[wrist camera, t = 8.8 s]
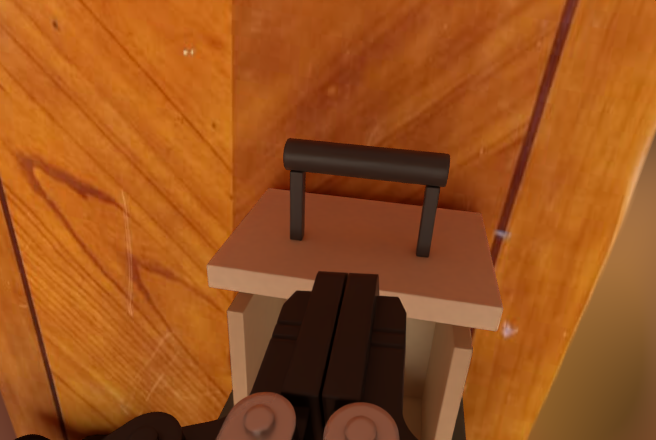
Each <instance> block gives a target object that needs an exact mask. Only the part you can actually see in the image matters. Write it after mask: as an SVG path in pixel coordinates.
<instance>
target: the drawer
mask: <svg viewBox="0 0 656 440" xmlns="http://www.w3.org/2000/svg"><path fill="white" fill-rule="evenodd" d="M283 162H284V167H285V169H287V170H291V171H290V191H289V190H280V189H272V188H268V189H267V191H266V192H265V193H264V194H263V196H262V197H261V198H260V199H259V200H258V202H257V203H256V204H255V205H254V207H253V208H252V209H251V210H250V212H249V213H248V214H247V215H246V217H245V218H244V219H243V220H242V222H241V223H240V224H239V225H238V227H237V228H236V229H235V230H234V232H233V233H232V234H231V235H230V237H229V238H228V239H227V240H226V241H225V243H224V244H223V245H222V246H221V248H220V249H219V250H218V251H217V253H216V254H215V255H214V256H213V258H212V259H211V260H210V261H209V263H208V264H207V274H208V285H209V287H213V288H219V289H226V290H232V291H239V292H238V294H237V296H236V297H235V299H234V300H233V302H232V304H231V305H230V307H229V308H228V310H227V317H228V331H229V345H230V358H231V372H232V386H233V399H234V406H235V405H236V404H237V403H238V402H239V401H240V400H242V399H243V398H245V397H247V396H249V394H250V392H251V390H252V388H253V385H254V382H255V380H256V377H257V374H258V371H259V369H260V366H261V363H262V361H263V358H264V355H265V352H266V350H267V347H268V344H269V341H270V339H271V338H272V333H273V331H274V328H275V325H276V324H277V320H278V317H279V314H280V311H281V309H282V306H283V304H284V303H285V302H286V301H287V300H288V299H289V298H290V297H291V296H292V294H293V293H294V292H295V291H296V290H300V291H312V288H313V285H314V282H315V278H316V275H317V273H318V271H326V272H344V273H348V274H349V273H364V274H378V275H379V296H393V297H399V299H400V301H401V303H402V305H403V307H404V309H405V311H406V313H407V316H406V356H405V376H404V396H403V418H404V420H405V423H406V425H407V427H408V428H409V430H410V431H411V432H412V434H413V435H414V436H415V437H416V438H417V439H418V440H451V439H452V435H453V431H454V427H455V423H456V419H457V415H458V410H459V406H460V402H461V398H462V394H463V390H464V385H465V381H466V377H467V373H468V369H469V365H470V360H471V356H472V352H473V348H472V339H471V331H470V327H472V328H478V329H485V330H491V331H497V330H498V327H499V323H500V319H501V315H502V311H503V306H502V301H501V297H500V293H499V288H498V284H497V280H496V275H495V271H494V266H493V262H492V258H491V253H490V249H489V245H488V240H487V236H486V231H485V227H484V223H483V218H482V214H481V213H476V212H468V211H459V210H451V209H442V208H437V205H438V199H439V193H440V187H445V186H446V184H447V179H448V173H449V166H450V155H449V154H444V153H434V152H424V151H414V150H404V149H394V148H384V147H374V146H364V145H353V144H343V143H333V142H323V141H313V140H303V139H293V138H289V139H287V141H286V144H285V147H284V154H283ZM306 172H312V173H321V174H330V175H339V176H348V177H357V178H366V179H375V180H384V181H393V182H402V183H411V184H420V185H426V186H425V193H424V200H423V206H417V205H408V204H400V203H391V202H383V201H374V200H366V199H357V198H348V197H340V196H331V195H323V194H314V193H306V192H305V178H306Z"/></svg>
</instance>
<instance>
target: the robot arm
mask: <svg viewBox="0 0 656 440" xmlns="http://www.w3.org/2000/svg"><path fill="white" fill-rule="evenodd" d="M406 316H407V313H406V311H405V309H404V307H403V305H402V303H401V301H400V299H399V297H393V296H379V275H378V274H364V273H349V274H348V273H344V272H326V271H318V273H317V275H316V278H315V282H314V285H313V288H312V291H300V290H296V291H295V292H294V293H293V294H292V296H291V297H290V298H289V299H288V300H287V301H286V302H285V303H284V304H283V306H282V309H281V311H280V314H279V317H278V320H277V324H276V325H275V328H274V331H273V333H272V338H271V339H270V341H269V344H268V347H267V350H266V352H265V355H264V358H263V361H262V363H261V366H260V369H259V371H258V374H257V377H256V380H255V382H254V385H253V388H252V390H251V392H250V394H249V396H247V397H245V398H243V399H242V400H240V401H239V402H238V403H237V404H236V405H235V406H234V407H233V408H232V409H231V410H230V412H229V413H228V415H227V416H225V417H223V418H220V419H218V420H214V421H210V422H205V423H200V424H195V425H190V426H185V427H181V426H180V424H179V422H178V421H177V420H176V419H175V418H174V417H173V416H171V415H170V414H167V413H163V412H151V413H146V414H143V415H140V416H138V417H136V418H134V419H132V420H131V421H129V422H127V423H126V424H124V425H123V426H121V427H120V428H118V429H117V430H115V431H114V432H112V433H111V434H109V435H108V436H106V437H105V438H103V439H102V440H418V439H417V438H416V437H415V436H414V435H413V434H412V432H411V431H410V430H409V428H408V427H407V425H406V423H405V420H404V418H403V396H404V376H405V356H406Z"/></svg>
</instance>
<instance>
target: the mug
mask: <svg viewBox="0 0 656 440" xmlns="http://www.w3.org/2000/svg"><path fill="white" fill-rule="evenodd" d="M106 436H108V435H94V436H88V437H86V438H84V439H82V440H102V439H103V438H105V437H106ZM15 440H50V439H48V438H45V437H43V436H40V435H35V434H30V435H25V436H22V437H19V438H17V439H15Z"/></svg>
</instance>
